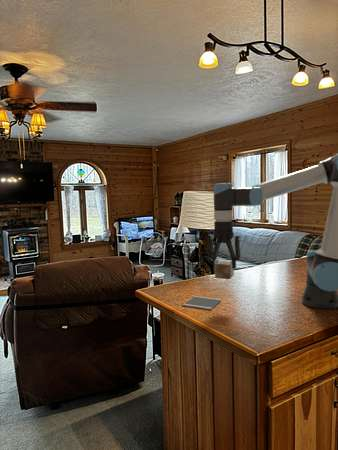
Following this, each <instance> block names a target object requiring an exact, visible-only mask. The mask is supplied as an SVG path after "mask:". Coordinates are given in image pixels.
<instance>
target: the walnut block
mask: <svg viewBox="0 0 338 450" xmlns="http://www.w3.org/2000/svg"><path fill="white" fill-rule="evenodd" d="M214 276H215V277H214V278H215V279H224V280H231V279H232V278H233V277H234V276H232V277H230V261H225V260H224V261H223V260H222V261H221V260H218V262H217V263H216V264H215V267H214Z"/></svg>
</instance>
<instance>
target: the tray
mask: <svg viewBox="0 0 338 450" xmlns="http://www.w3.org/2000/svg"><path fill="white" fill-rule="evenodd" d="M221 302H222V299H220V298H213V297H205V296H197V295H194V296H193V297H192V298H190V299H189V300H187V301H186V302H185V303H182V307H186V308H187V307H188V308H193V309H199V310H205V311H212V310H213V309H214V308H215V307H216V306H218V305H219V304H220V303H221Z"/></svg>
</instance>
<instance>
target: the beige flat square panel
mask: <svg viewBox="0 0 338 450" xmlns="http://www.w3.org/2000/svg"><path fill="white" fill-rule="evenodd" d="M220 308H221V306H217V307H216V308H215V309H216V310H219V309H220ZM221 310H223V311H229V309H227V308H221Z"/></svg>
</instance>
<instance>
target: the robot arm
mask: <svg viewBox="0 0 338 450" xmlns="http://www.w3.org/2000/svg"><path fill="white" fill-rule="evenodd" d="M319 184H326V185H327V184H331V186H332V187H333V188H332V192H331V196H330V197H331V198H330V203H329V206H328V212H327V217H326V222H325V225H324V230H323V231H324V232H323V234H322V239H321V240H322V241H321V246H320V248H318V249H317V250H310V251H309V250H308V251H307V253H306V257H305V258H306V259H305V260H306V274H305V275H306V276H305V278H306V281H305V282H306V283H305V287H304V290H303V293H302V296H301V304H303V305H304V306H307V307H310V308H313V309H317V310H318V309H320V310H333V309H334V310H335V309H338V153H336V154H334V155H332V156H331V157H328V158H326V159H324V160H320V161H318V164H317V165H313V166H310V167H308V168H305V169H302V170H298V171H295V172H291V173H288V174H285V175H282V176H278V177H276V178H274V179H270V180H267V181H264V182H260V183H257V184H255V185H251V186H245V187H234V186H233V183H231V182H224V183H223V182H221V183H220V182H219V183H215V184H214V186H213V219H214V225H213V226H214V227H213V228H214V231H213V233H212V234H208V235H207V239H208V248H207V258H209V259H211V260H212V267H213V268H215V264H216V263H217V262H219V258H218V255H219V251H220V248H221V245H222V243H223V244H226V246H227V250H228V253H229V255H230V259H231V260H229V262H230V277H231V278H233V277H234V276H235V269H236V268H237V261H238V260H240V259H241V246H240V239H241V235H238V234H235V233H234V228H233V227H234V226H233V225H234V223H233V207H239V206H240V207H249V206H253V207H257V206H261V205H262V204H263V201H266V200H270V199H273V198H276V197H279V196H282V195H287V194H289V193H292V192H295V191H296V192H297V191H299V190H302V189H303V190H304V189H307V188H309V187H311V186H315V185H319ZM232 238H233V240H234V247H233V245H232ZM214 239H215V240H216V241H215V247H214ZM232 276H233V277H232Z"/></svg>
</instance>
